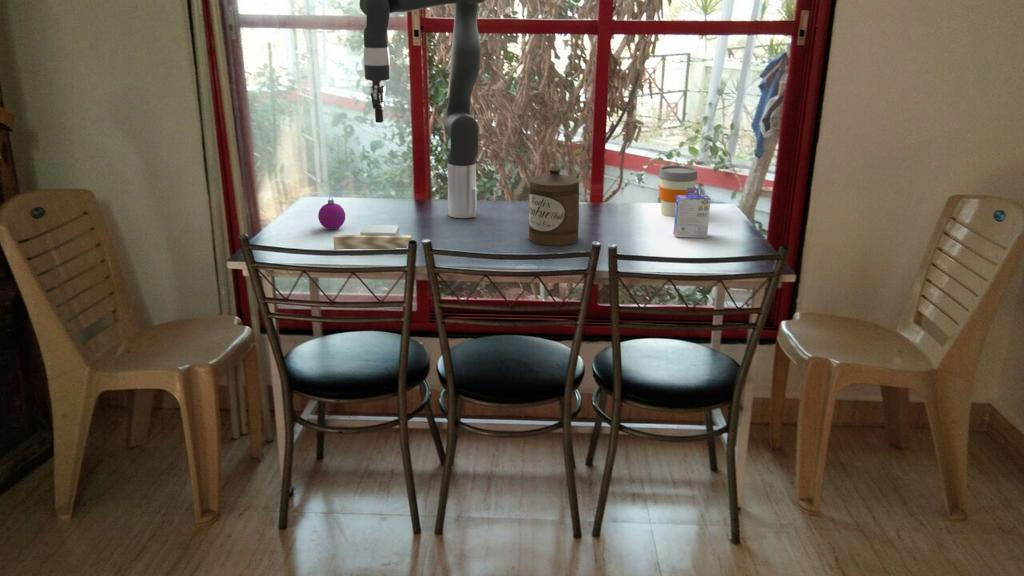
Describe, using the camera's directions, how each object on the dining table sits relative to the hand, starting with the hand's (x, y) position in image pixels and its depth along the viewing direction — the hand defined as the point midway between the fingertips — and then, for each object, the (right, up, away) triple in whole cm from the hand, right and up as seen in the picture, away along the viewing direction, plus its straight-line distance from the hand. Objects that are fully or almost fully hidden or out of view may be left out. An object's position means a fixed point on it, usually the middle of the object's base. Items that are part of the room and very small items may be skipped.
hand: (379, 122), depth 253 cm
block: (+2, -38, -10) cm, 39 cm away
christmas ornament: (-15, -32, +5) cm, 36 cm away
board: (+1, -39, -14) cm, 42 cm away
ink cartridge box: (+95, -34, +2) cm, 101 cm away
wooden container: (+53, -36, -2) cm, 64 cm away
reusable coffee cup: (+95, -26, +27) cm, 102 cm away
